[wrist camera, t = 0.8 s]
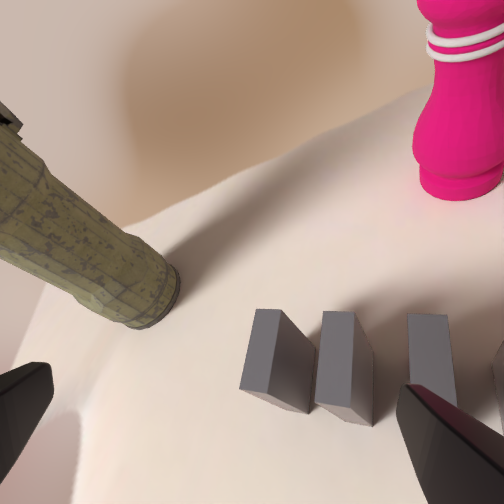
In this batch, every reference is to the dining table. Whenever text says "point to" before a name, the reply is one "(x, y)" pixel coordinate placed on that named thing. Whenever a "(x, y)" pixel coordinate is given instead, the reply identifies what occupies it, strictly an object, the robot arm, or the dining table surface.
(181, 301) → the dining table surface
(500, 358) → the domino
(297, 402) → the domino
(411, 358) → the domino
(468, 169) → the pepper mill
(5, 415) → the robot arm
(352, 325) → the domino
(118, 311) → the thermos
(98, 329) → the dining table surface
